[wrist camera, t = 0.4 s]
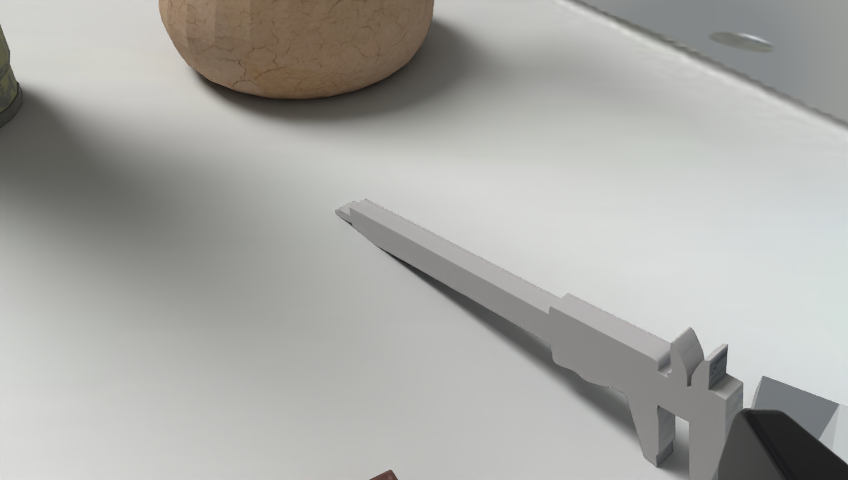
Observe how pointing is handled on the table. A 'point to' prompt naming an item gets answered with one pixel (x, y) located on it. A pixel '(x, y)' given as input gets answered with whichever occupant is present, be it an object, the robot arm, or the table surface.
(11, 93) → the thermos
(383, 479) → the notebook
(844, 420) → the charging dock
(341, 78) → the potted plant
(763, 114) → the table surface
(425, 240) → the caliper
